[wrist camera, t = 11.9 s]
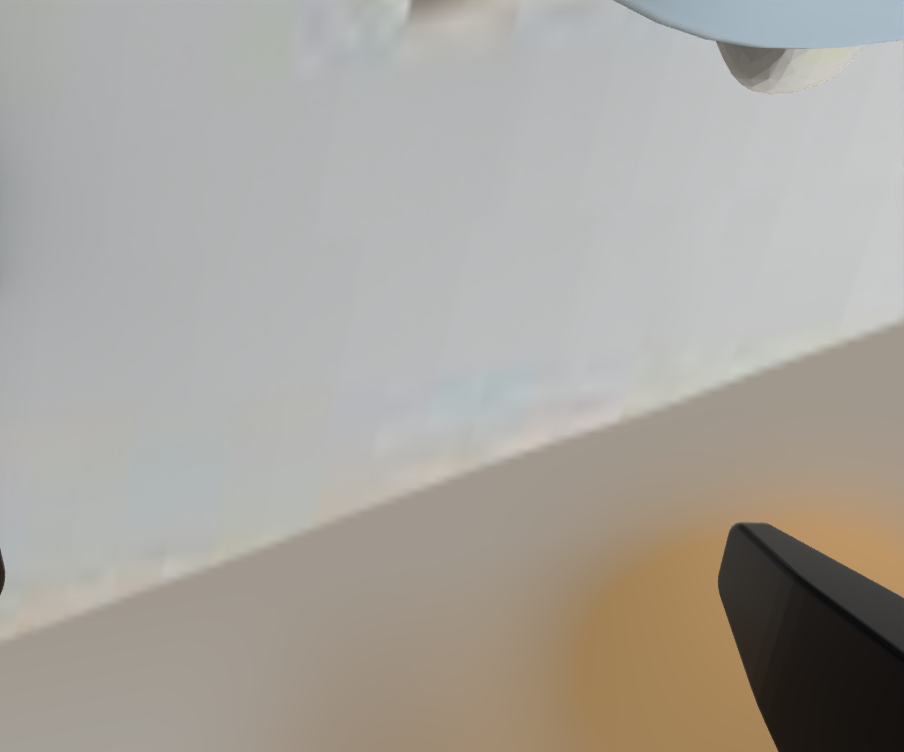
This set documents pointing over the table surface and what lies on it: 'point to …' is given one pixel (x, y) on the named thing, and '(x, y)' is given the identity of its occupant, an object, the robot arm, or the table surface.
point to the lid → (780, 21)
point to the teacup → (784, 66)
